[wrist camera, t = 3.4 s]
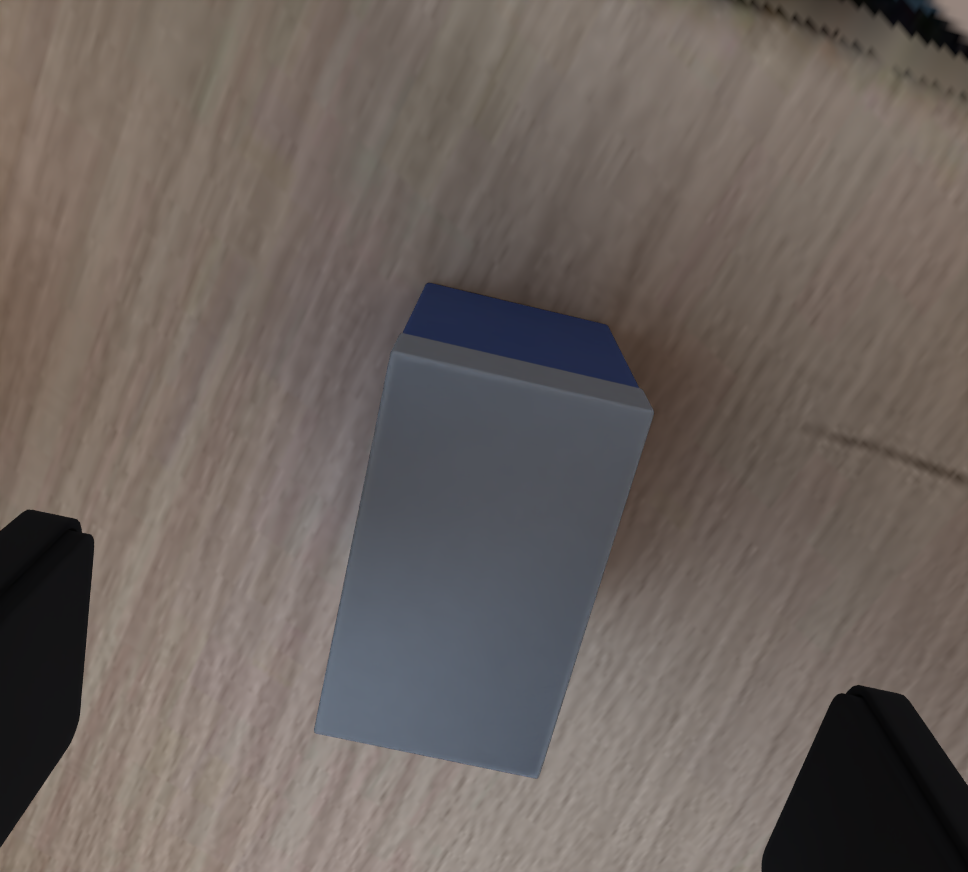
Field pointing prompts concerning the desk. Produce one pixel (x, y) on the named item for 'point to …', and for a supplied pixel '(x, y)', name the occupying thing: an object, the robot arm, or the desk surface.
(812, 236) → the desk surface
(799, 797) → the robot arm
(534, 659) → the grey and blue block
